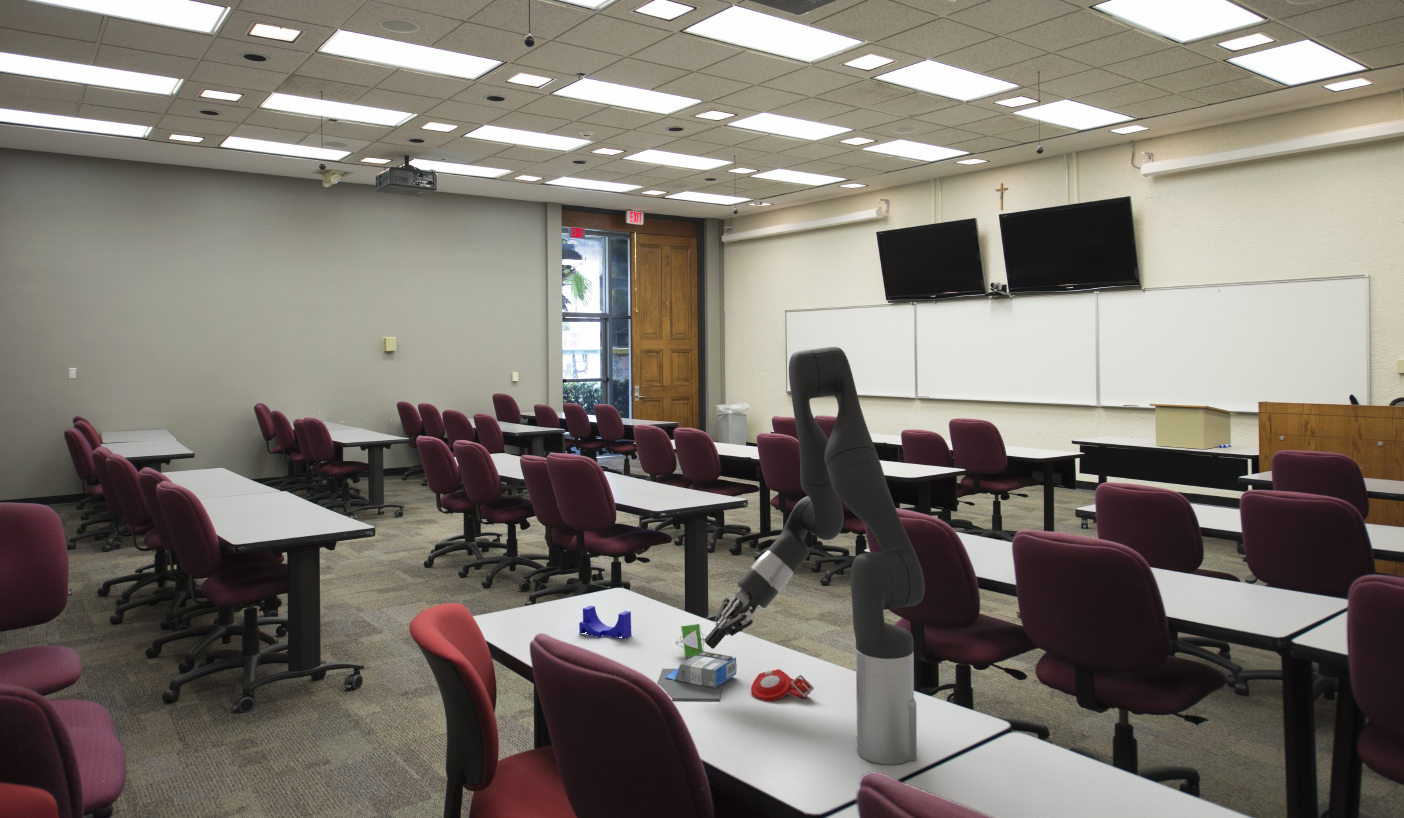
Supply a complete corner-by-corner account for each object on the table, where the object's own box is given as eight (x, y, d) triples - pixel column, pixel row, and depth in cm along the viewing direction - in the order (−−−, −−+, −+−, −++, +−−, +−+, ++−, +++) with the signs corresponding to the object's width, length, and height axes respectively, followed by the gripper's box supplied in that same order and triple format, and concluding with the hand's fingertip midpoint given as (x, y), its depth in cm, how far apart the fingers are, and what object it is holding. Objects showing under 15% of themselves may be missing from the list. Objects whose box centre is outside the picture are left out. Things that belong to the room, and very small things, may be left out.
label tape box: (715, 670, 169) (663, 658, 175) (715, 690, 169) (663, 678, 175) (737, 656, 176) (686, 646, 182) (737, 675, 176) (686, 664, 183)
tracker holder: (750, 698, 163) (747, 667, 172) (756, 717, 164) (752, 686, 174) (812, 683, 162) (806, 654, 172) (818, 703, 163) (810, 672, 173)
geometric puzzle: (670, 639, 194) (676, 618, 189) (699, 636, 196) (705, 614, 192) (678, 666, 189) (685, 645, 184) (708, 662, 191) (714, 640, 186)
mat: (723, 670, 180) (723, 668, 180) (719, 700, 164) (719, 698, 164) (662, 670, 181) (662, 668, 181) (652, 699, 165) (652, 697, 165)
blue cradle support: (579, 634, 207) (578, 610, 206) (590, 629, 211) (590, 605, 210) (620, 641, 201) (620, 616, 201) (631, 636, 205) (630, 611, 205)
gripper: (742, 559, 177) (686, 623, 175) (764, 574, 165) (704, 643, 162) (767, 582, 179) (711, 646, 176) (790, 598, 166) (731, 668, 164)
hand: (708, 645), depth 169 cm, fingers closed
